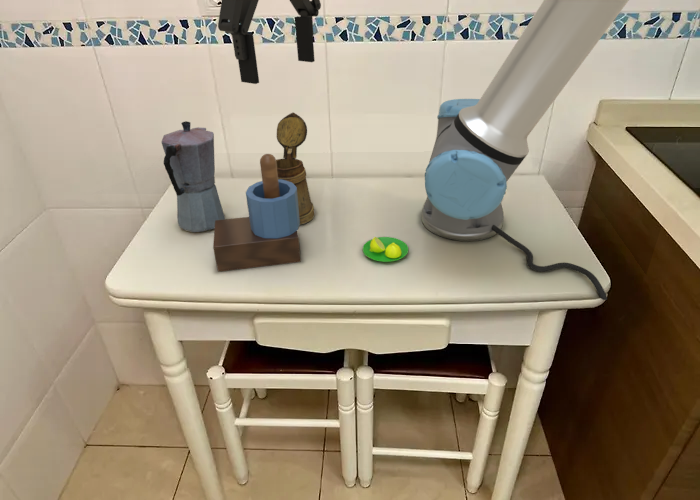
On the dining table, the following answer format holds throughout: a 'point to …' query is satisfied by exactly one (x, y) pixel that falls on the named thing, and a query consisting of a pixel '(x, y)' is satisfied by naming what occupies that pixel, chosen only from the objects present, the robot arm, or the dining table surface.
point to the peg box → (243, 245)
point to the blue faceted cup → (273, 211)
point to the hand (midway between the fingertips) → (280, 71)
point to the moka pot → (193, 177)
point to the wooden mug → (294, 162)
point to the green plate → (385, 249)
